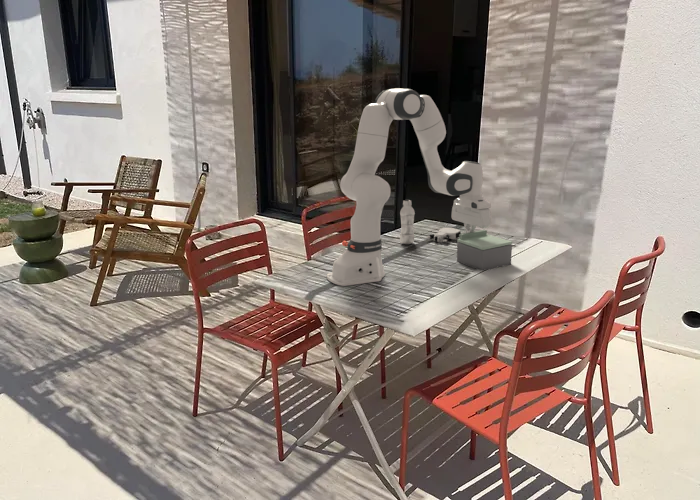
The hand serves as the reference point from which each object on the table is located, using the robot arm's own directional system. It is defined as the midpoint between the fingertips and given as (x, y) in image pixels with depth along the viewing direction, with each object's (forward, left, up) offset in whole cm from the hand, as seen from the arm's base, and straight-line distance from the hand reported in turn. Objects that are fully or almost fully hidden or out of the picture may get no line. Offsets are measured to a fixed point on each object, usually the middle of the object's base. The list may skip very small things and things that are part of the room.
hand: (469, 234), depth 229 cm
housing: (0, -9, -10) cm, 13 cm away
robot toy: (+9, +28, -10) cm, 31 cm away
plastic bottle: (-9, +32, -10) cm, 35 cm away
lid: (0, -9, -2) cm, 9 cm away
